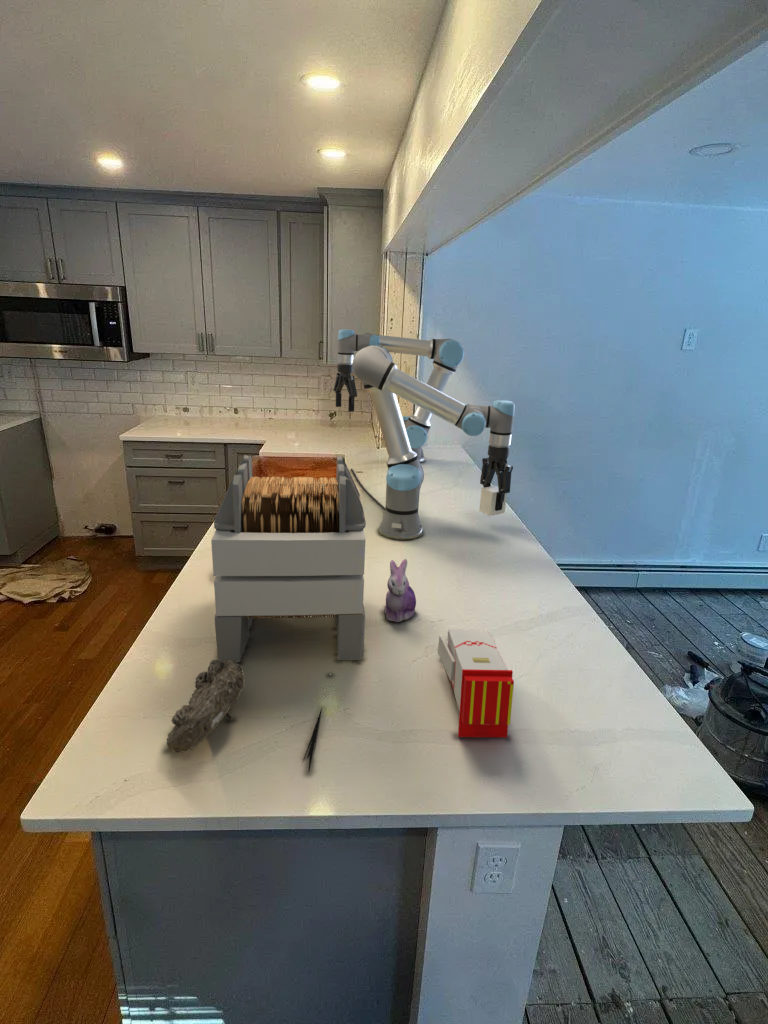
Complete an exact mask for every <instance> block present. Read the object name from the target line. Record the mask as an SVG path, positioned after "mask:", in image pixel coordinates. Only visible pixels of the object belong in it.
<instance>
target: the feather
mask: <svg viewBox="0 0 768 1024" xmlns="http://www.w3.org/2000/svg"><path fill="white" fill-rule="evenodd" d="M329 675H330V676H331V675H332V674H331V673H330V674H329ZM322 710H323V707H321V708H320V710H319V713H318V716H317V719H316V723H315V725H314V728H313V731H312V733H311V737H310V739H309V742H308V745H307V748H306V751H305V754H304V757H303V760H302V763H301V767H302V765H303V763H304V761H305V758H308V759H309V760H308V762H307V763H308V764H307V766H308V771H310V770H311V766H312V765H311V764H312V760H313V757H315V756H314V755H315V751H316V749H315V746H317V739H318V733H319V729H320V722H321V717H322V712H323V711H322ZM313 754H314V755H313ZM306 755H307V757H306Z"/></svg>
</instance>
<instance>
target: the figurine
mask: <svg viewBox="0 0 768 1024" xmlns="http://www.w3.org/2000/svg"><path fill="white" fill-rule="evenodd" d="M407 567H408V559H406V558H404V559H403V560H402V561H401V563H400V565H399V566H398V565H397V563H396V562H395V561H394V560H393V559H391V560H390V561H389V570H390V576H389V578H388V579H387V589H388V591H387V592H386V594H385V595H386V596H385V607H384V615H385V616H386V620H387V621H391V622H395V623H400V622H402V621H406V620H409V619H410V618H411V617H413V616H414V615H415V610H416V606H417V597H416V593H415V591H414V590H413V587H411V586H410V582H409V579H408V577H407V574H406V571H407Z"/></svg>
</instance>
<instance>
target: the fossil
mask: <svg viewBox="0 0 768 1024" xmlns="http://www.w3.org/2000/svg"><path fill="white" fill-rule="evenodd" d="M217 660H218V659H217ZM217 660H216V659H212V660H211V661H210V663H209V665H208V666H207V671H201V672H199V673H198V674H197V675H196V676H195V680H194V684H195V685H194V687H195V689H194V690H193V693H192V694H191V697H190V698H189V700H188V704H184V705H182V706H181V707H180V709H177V710H176V711H175V713H174V715H173V716H172V718H171V723H172V724H173V727H172V730H171V731H170V732H168V734H167V738H166V741H167V742H166V745H167V749H168V750H169V751H173V752H174V753H176V754H178V753H182V752H188V751H189V752H192V751H193V750H195V748H196V747H197V746H199V744H200V743H201V742H203V741H204V740H205V739H206V738H207V737H208V736H209V735H210V734H211V733H212V732H214V730H215V729H217V727H218V726H219V724H220V722H221V721H222V720H223V719H224V718H225V716H226V717H227V719H229V720H233V717H232V715H230V714H229V710H230V709H231V708H234V706H235V704H236V703H237V702H238V699H239V697H240V695H241V693H242V691H243V690H245V689H244V688H245V675H244V671H243V670H244V669H243V667H242V665H240V664H237V662H235V661H234V660H232V659H231V660H228V659H227V660H224V661H223V662H222V661H217Z"/></svg>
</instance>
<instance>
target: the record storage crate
mask: <svg viewBox="0 0 768 1024" xmlns="http://www.w3.org/2000/svg"><path fill="white" fill-rule="evenodd" d="M252 461H253V460H252V455H246V454H244V455H243V457H242V460H241V461H240V463H239V465H238V467H237V469H236V471H235V474H234V475H233V477H232V479H231V481H230V483H229V485H228V488H227V491H226V492H225V495H224V497H223V499H222V501H221V504H220V506H219V508H218V510H217V513H216V515H215V517H214V519H213V520H214V521H213V528H214V529H215V530H214V533H213V535H212V537H211V540H210V543H211V558H212V572H213V573H212V575H213V577H215V578H214V581H213V588H214V589H213V591H214V605H215V614H214V630H215V632H214V633H215V644H216V653H217V659H215V660H217V661H222V662H223V661H224V660H227V659H228V660H231V659H232V660H234V661H235V662H236V663H241V660H242V657H243V655H244V652H245V649H246V647H247V644H248V641H249V639H250V634H249V633H250V631H249V629H251V628H252V624H253V619H292V618H293V619H294V618H295V619H300V618H302V619H305V618H306V619H307V618H335V627H336V648H337V649H336V651H337V660H338V661H347V660H348V661H349V660H351V661H352V660H354V661H361V660H362V659H364V657H365V629H366V627H365V626H366V625H365V624H366V613H365V606H364V594H365V593H364V591H365V578H364V575H365V562H366V561H365V559H366V535H365V531H364V529H365V528H366V517H365V512H364V507H363V506H364V505H363V503H362V499H361V494H360V492H359V489H358V487H357V485H356V483H355V481H354V479H353V476H352V474H351V472H350V470H349V468H348V465H347V463H346V461H345V459H344V456H340V455H336V471H335V472H336V475H335V476H336V477H329V478H328V477H326V476H325V477H319V478H315V477H313V476H310V477H309V476H293V477H291V478H290V477H289V478H288V476H287V477H285V476H281V477H280V476H262V477H259V476H253V462H252Z"/></svg>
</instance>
